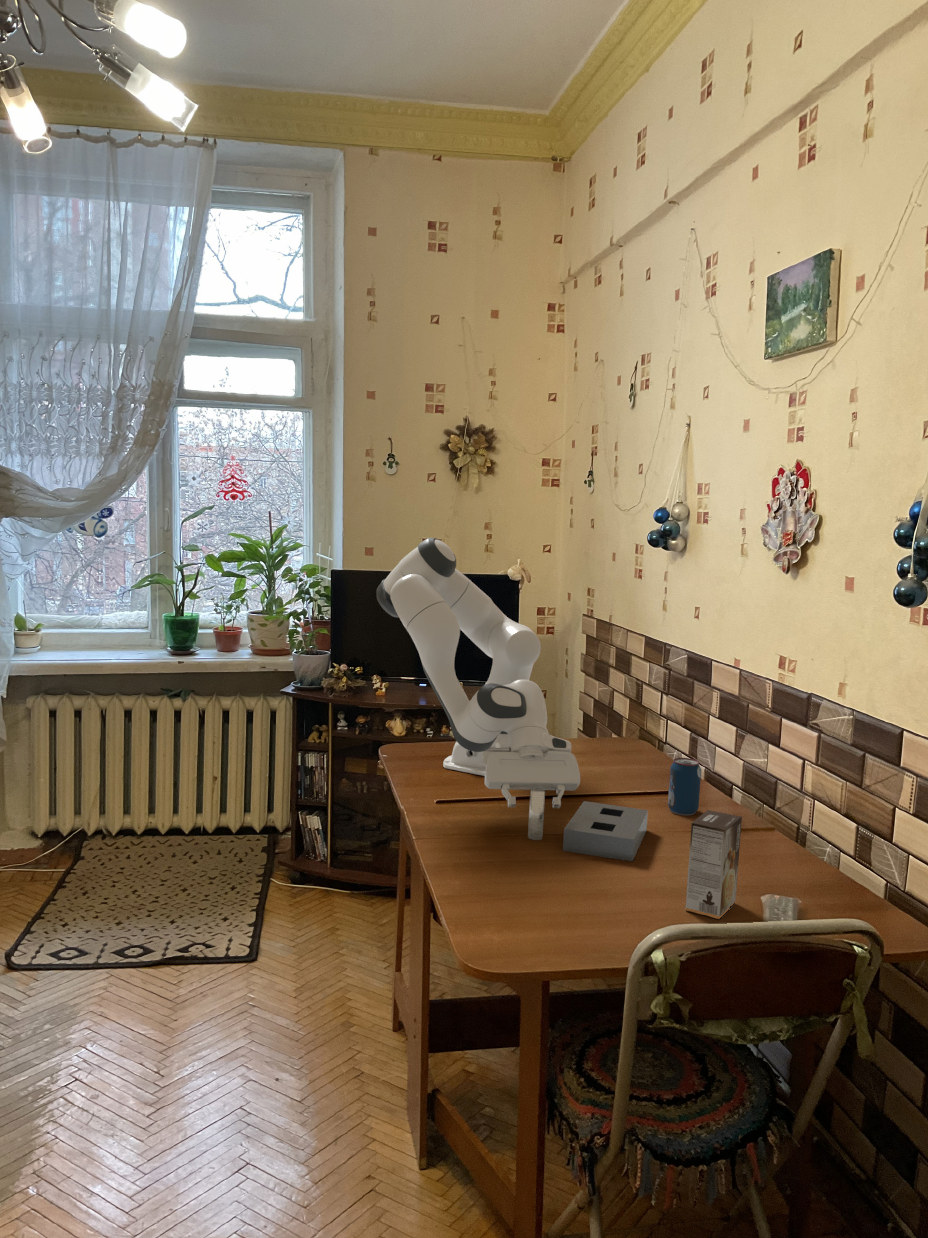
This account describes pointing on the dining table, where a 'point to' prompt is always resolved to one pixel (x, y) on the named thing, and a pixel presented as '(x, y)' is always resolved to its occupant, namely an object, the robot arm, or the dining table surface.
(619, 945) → the dining table surface
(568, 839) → the grey peg hole block
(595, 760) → the dining table surface
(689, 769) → the soda can
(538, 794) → the steel pin
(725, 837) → the coffee box
